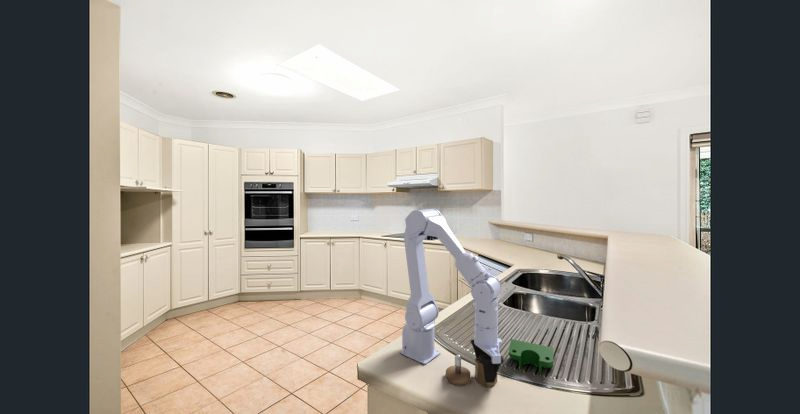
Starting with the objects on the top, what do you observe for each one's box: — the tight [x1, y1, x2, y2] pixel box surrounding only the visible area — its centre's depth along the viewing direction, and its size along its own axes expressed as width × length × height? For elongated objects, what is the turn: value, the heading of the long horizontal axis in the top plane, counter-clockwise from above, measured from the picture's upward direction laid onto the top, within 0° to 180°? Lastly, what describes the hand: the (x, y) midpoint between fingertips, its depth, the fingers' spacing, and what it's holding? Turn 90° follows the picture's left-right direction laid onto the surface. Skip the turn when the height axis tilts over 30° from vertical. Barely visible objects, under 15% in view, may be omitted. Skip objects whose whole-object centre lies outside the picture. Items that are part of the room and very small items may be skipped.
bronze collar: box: [474, 357, 498, 387], centre depth 79 cm, size 5×5×5 cm
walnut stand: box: [445, 365, 471, 387], centre depth 80 cm, size 6×6×2 cm
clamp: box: [508, 338, 555, 375], centre depth 85 cm, size 12×6×9 cm, turn 55°
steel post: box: [454, 354, 462, 374], centre depth 80 cm, size 2×2×5 cm
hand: (486, 374), depth 79 cm, fingers closed on bronze collar, 5 cm apart
